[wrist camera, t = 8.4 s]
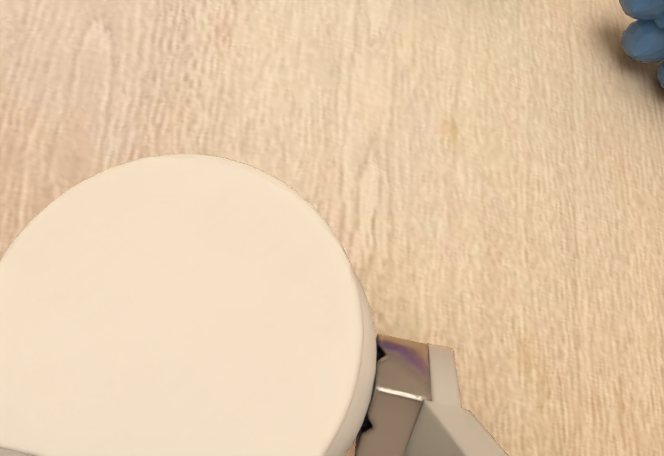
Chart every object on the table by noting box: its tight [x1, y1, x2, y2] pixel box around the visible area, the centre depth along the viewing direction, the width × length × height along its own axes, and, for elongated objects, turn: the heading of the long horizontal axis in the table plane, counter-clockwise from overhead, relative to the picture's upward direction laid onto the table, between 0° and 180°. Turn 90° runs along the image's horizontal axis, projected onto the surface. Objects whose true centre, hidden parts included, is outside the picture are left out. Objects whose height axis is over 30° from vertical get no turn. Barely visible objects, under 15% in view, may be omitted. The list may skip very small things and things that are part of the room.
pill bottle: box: [0, 154, 377, 456], centre depth 11 cm, size 6×6×10 cm
